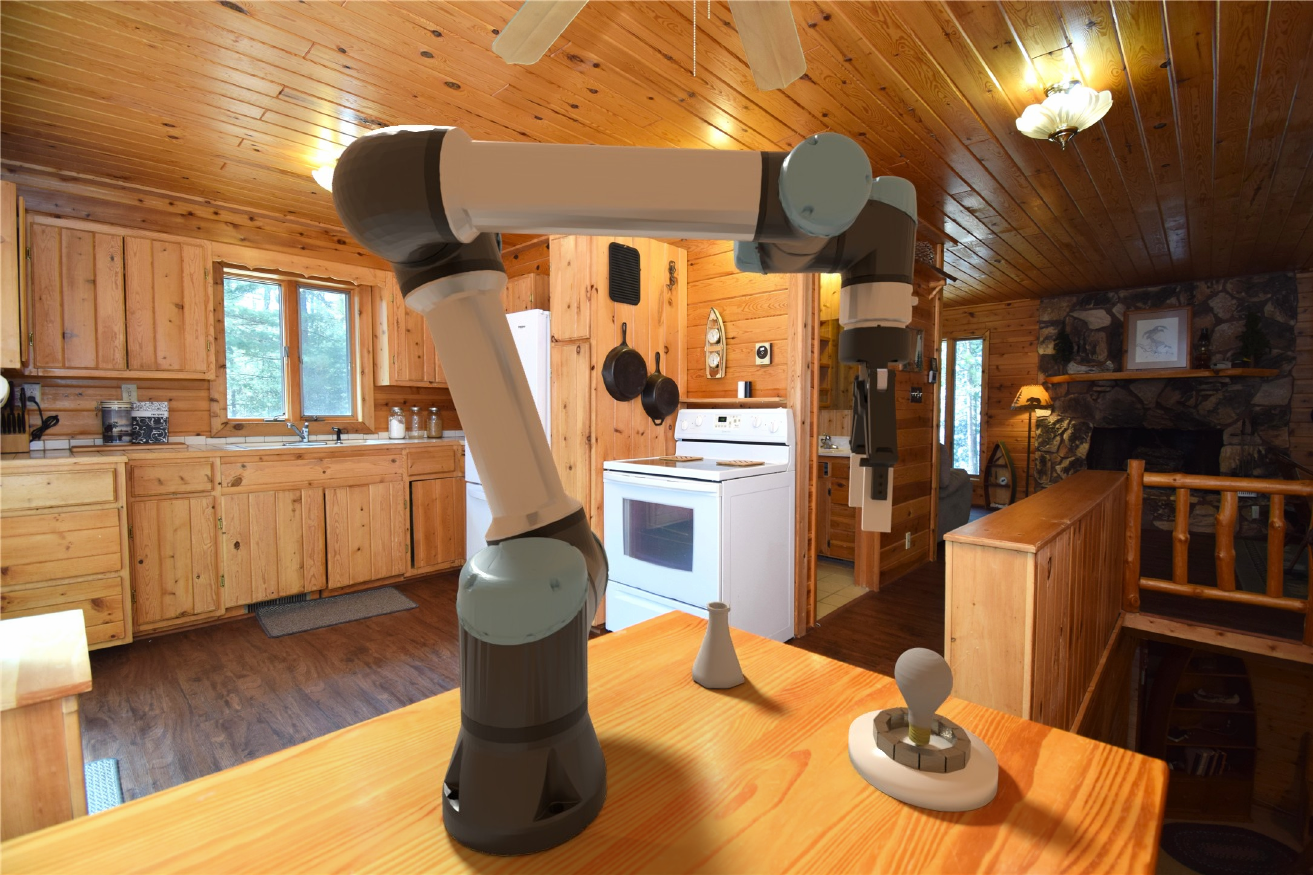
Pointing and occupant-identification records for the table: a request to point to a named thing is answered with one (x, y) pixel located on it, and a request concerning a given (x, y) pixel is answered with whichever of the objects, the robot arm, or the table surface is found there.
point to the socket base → (918, 786)
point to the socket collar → (921, 757)
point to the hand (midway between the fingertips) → (867, 517)
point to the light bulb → (922, 689)
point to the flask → (717, 652)
